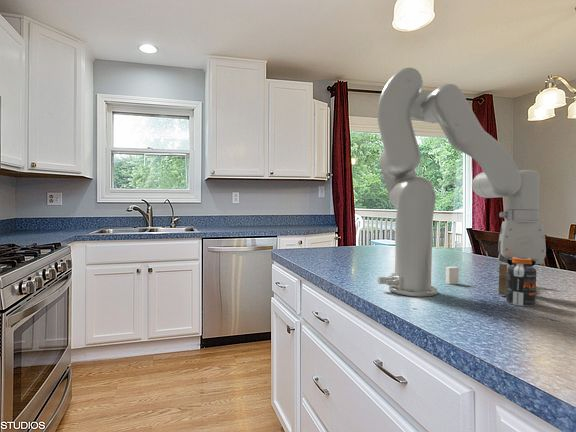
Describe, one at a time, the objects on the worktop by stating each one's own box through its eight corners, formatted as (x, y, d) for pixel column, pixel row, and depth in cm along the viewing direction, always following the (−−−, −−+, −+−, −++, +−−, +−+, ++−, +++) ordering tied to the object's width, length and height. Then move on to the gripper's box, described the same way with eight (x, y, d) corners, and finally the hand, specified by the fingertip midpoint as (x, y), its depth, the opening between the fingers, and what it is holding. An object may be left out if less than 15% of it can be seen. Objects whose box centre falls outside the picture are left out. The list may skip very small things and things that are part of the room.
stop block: (449, 284, 106) (449, 267, 106) (445, 282, 108) (445, 266, 108) (458, 284, 107) (458, 267, 107) (454, 282, 109) (454, 266, 109)
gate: (510, 283, 106) (511, 256, 106) (516, 283, 105) (517, 257, 105) (498, 294, 93) (499, 264, 93) (505, 295, 92) (506, 264, 92)
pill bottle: (526, 308, 82) (527, 260, 82) (500, 302, 87) (502, 256, 87) (540, 305, 85) (541, 258, 84) (515, 299, 90) (516, 255, 90)
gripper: (494, 216, 93) (492, 285, 93) (560, 217, 89) (558, 289, 89) (486, 215, 100) (485, 279, 101) (548, 216, 96) (546, 283, 96)
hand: (520, 284), depth 95 cm, fingers closed
